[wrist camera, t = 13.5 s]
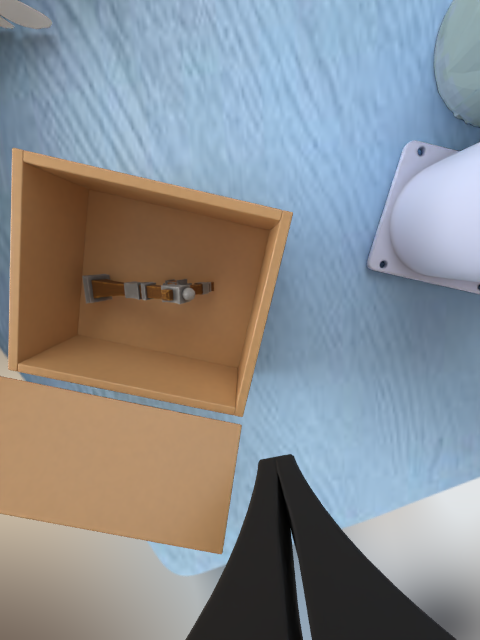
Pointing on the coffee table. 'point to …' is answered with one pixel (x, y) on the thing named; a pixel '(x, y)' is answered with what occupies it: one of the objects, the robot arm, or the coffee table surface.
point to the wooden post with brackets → (142, 289)
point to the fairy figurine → (22, 15)
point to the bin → (142, 266)
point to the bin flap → (115, 466)
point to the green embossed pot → (460, 60)
